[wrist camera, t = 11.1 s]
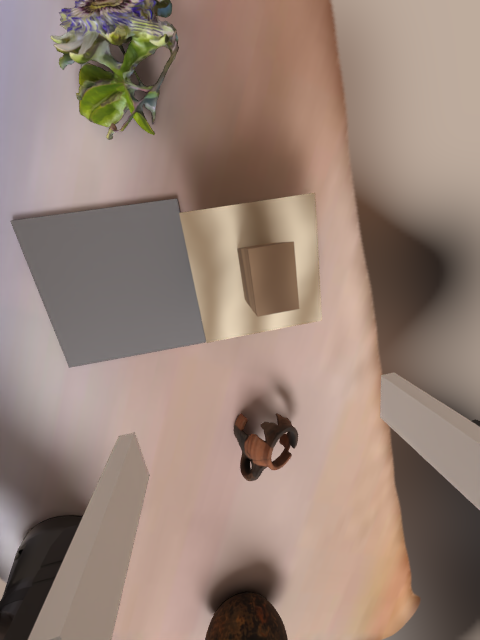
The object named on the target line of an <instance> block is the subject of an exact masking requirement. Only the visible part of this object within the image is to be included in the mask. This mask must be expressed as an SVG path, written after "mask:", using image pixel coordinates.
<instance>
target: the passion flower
mask: <svg viewBox="0 0 480 640" xmlns="http://www.w3.org/2000/svg"><path fill="white" fill-rule="evenodd" d="M171 12H172V3H171V1H170V0H161V1H158V0H96V1H95V0H79V1H75V7H74V8H73V9H71V8H70V9H68V8H64V9H62V12H59V14H60V15H61V19H60V21H61V22H62V23H61V24H60V26H62V27H63V28H65V29H66V30H67V33H66V34H64V35H62V36H51V39H52V40H53V41H54V42H56V43H57V44H54V46H55V47H56V49H57V51H59V52H61V53H63V54H64V55H63V57H60V59H59V65H60V67H61V68H62V69H63V70H64V68H65V67H66V66H67V65H68V64H72V63H74V62H77V63H79V64H82V65H81V69H80V72H79V84H80V86H79V93H76V96H77V99H78V100H79V111H80V114H81V115H82V116H85V117H86V118H87V119H88V120H89V121H91V122H93V123H96V124H99V125H102V126H106V127H110V128H109V132H108V134H107V139H109V140H110V139H113V136H112V135H113V133H114V132H120V131H123V130H124V129H125V128H126V126H127V125H128V124H129V122H130V121H131V119H132V118H134V120H135V121H136V122H137V124H138V125H139V126H140V127H141V128H142V129H143V130H145V131H146V132H148V133H150V134H153V135H155V133H154V131H153V130H152V128H151V127H150V125H149V124H148V122H147V120H146V118H145V116H144V113H143V109H142V107H143V104H145V107H146V108H147V109H149V110H150V111H151V113H152V124H154V119H155V108H156V101H157V99H158V96H159V94H160V93H159V89H160V85H161V83H162V81H163V79H164V77H165V75H166V72H167V70H168V68H169V67H170V65H171V63H172V61H173V60H174V59H175V56H176V53H177V51H178V49H179V47H178V37H177V33H176V29H175V28H174V27H173V25H172V24H170V23H168V22H167V21H164V22H161V21H160V20H159V19H158V18H157V16H161V17H165V18H166V17H168V16H170V15H171ZM130 41H131V42H130ZM128 42H130V43H129V45H128V48H127V51H126V53H125V51H124V49H123V46H122V44H123V43H128ZM110 43H111V44H113V45H117V46H119V47H120V49H121V51H122V53H123V54H124V59H123V62H122V63H119V62H118V61H116V60H115V59H114V57H113V56H112V54H111V52H110V47H109V44H110ZM161 46H165V47H167V48H168V49H169V50H170V52H171V56H170V58H169V60H168V61H167V63H166V65H165V66H164V69H163V72H162V73H161V75H160V78H159V79H158V82H157V83H156V84H155V85H152V86H145V85H144V84H143V83H142V81H141V80H140V78H139V76H138V75H137V73H136V72H135V68H136V66H137V65H138V63H139V62H141V61H142V60H144V59H146V58H147V57H148V56H150V55H151V54H154V53H155V51H156V49H157V48H159V47H161ZM89 60H93V61H97V62H99V63H101V64H104V65H106V66H108V67H109V68H110V69H111V70H112V71H113V72H114V73H113V72H111V71H105V70H103V69H102V68H100V67H97V66H95V65H93V64H90V63H88V61H89ZM86 62H87V63H86ZM83 63H84V64H83ZM133 72H134V73H135V75H136V77H137V79H138V81H139V84H138V85H135V84H134V83H132V82H131V79H130V76H131V74H132V73H133ZM136 90H141V91H144V92H145V93H146V95H145V96H144V98H143V99H141V100H140V101H138V100H136V99H135V97H134V91H136ZM128 109H129V110H130V112H131V115H130V116H129V118H128V120H127V121H126V122H125V123H124V125H123V126H122V128H121V129H120V130H117V127H116V125H115V124H117V123H118V122H119V121H120V120H121V118H122V117H123V115H124V114H125V113H126V111H127V110H128Z"/></svg>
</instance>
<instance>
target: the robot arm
mask: <svg viewBox="0 0 480 640" xmlns="http://www.w3.org/2000/svg"><path fill="white" fill-rule="evenodd" d="M380 418H382V419H383V420H384V421H385V422H386V423H387V424H388V425H389V426H390V427H391V428H392V429H393V430H394V431H395V432H397V433H398V434H399V435H400V436H401V437H402V438H403V439H404V440H405V441H406V442H407V443H409V445H410V446H412V447H413V448H414V449H415V450H416V451H417V452H418V453H419V454H420V455H421V456H422V457H423V458H424V459H425V460H427V461H428V462H429V463H430V464H431V465H432V466H433V467H434V468H435V469H436V470H437V471H438V472H439V473H440V474H442V475H443V476H444V477H445V478H446V479H447V480H448V481H449V482H450V483H451V484H452V485H453V486H454V487H455V488H457V489H458V490H459V491H460V492H461V493H462V494H463V495H464V496H465V497H466V498H467V499H468V500H469V501H471V502H472V503H473V504H474V505H475V506H476V507H477V508H478V509H479V510H480V421H478V420H473V421H470V420H468V419H466V418H465V417H463V416H462V415H460V414H459V413H457V412H455V411H454V410H452V409H451V408H449V407H448V406H446V405H445V404H443V403H441V402H440V401H438V400H437V399H435V398H433V397H432V396H430V395H429V394H427V393H426V392H424V391H422V390H421V389H419V388H418V387H416V386H415V385H413V384H411V383H410V382H408V381H407V380H405V379H403V378H402V377H400V376H399V375H397V374H395V373H390V374H385V375H381V414H380ZM149 476H150V475H149V472H148V469H147V466H146V464H145V461H144V458H143V455H142V452H141V449H140V446H139V443H138V441H137V438H136V435H135V433H131V434H127V435H122V436H119V437H118V439H117V441H116V444H115V446H114V448H113V450H112V452H111V455H110V457H109V459H108V461H107V464H106V466H105V468H104V470H103V473H102V475H101V477H100V479H99V482H98V484H97V486H96V488H95V490H94V493H93V495H92V497H91V499H90V502H89V504H88V506H87V508H86V511H85V513H84V515H83V517H78V516H62V517H56V518H52V519H48V520H46V521H43V522H41V523H39V524H38V525H36V526H35V527H34V528H32V529H31V530H30V531H29V533H28V534H27V535H26V537H25V539H24V540H23V542H22V544H21V545H20V547H19V549H18V551H17V553H16V556H15V559H14V563H13V566H12V569H11V572H10V575H9V578H8V581H7V585H6V588H5V591H4V595H3V597H2V599H1V601H0V640H111V639H112V635H113V630H114V626H115V622H116V617H117V613H118V609H119V605H120V600H121V596H122V592H123V587H124V583H125V579H126V574H127V570H128V566H129V562H130V557H131V553H132V549H133V544H134V540H135V536H136V531H137V527H138V523H139V519H140V514H141V510H142V506H143V501H144V497H145V493H146V488H147V484H148V480H149Z"/></svg>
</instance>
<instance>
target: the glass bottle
mask: <svg viewBox="0 0 480 640" xmlns="http://www.w3.org/2000/svg"><path fill="white" fill-rule="evenodd" d="M205 640H287V634H286V630H285V627H284V624H283V622H282V620H281V618H280V616H279V614H278V612H277V611H276V609H275V608H274V607H273V606H272V604H271V603H270V602H269V601H268V600H267V599H265V598H264V597H263V596H261V595H259V594H256V593H250V592H248V593H241V594H237V595H235V596H233V597H231V598H229V599H228V600H226V601H225V602H224V603H223V604H222V605H221V606H220V607H219V608H218V610H217V611H216V612H215V614H214V616H213V618H212V620H211V622H210V625H209V627H208V631H207V634H206V638H205Z"/></svg>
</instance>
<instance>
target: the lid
mask: <svg viewBox="0 0 480 640" xmlns="http://www.w3.org/2000/svg"><path fill="white" fill-rule="evenodd" d="M179 215H180V219H181V224H182V229H183V233H184V238H185V243H186V248H187V252H188V257H189V262H190V266H191V271H192V276H193V281H194V285H195V290H196V295H197V299H198V304H199V309H200V314H201V318H202V323H203V328H204V332H205V337H206V342H207V343H209V342H214V341H219V340H224V339H229V338H234V337H240V336H245V335H250V334H255V333H260V332H265V331H270V330H276V329H281V328H286V327H291V326H296V325H301V324H306V323H312V322H317V321H322V313H321V295H320V276H319V258H318V239H317V220H316V202H315V193H310V194H303V195H296V196H290V197H283V198H276V199H270V200H263V201H256V202H249V203H243V204H236V205H229V206H223V207H216V208H209V209H202V210H196V211H189V212H182V213H179Z"/></svg>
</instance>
